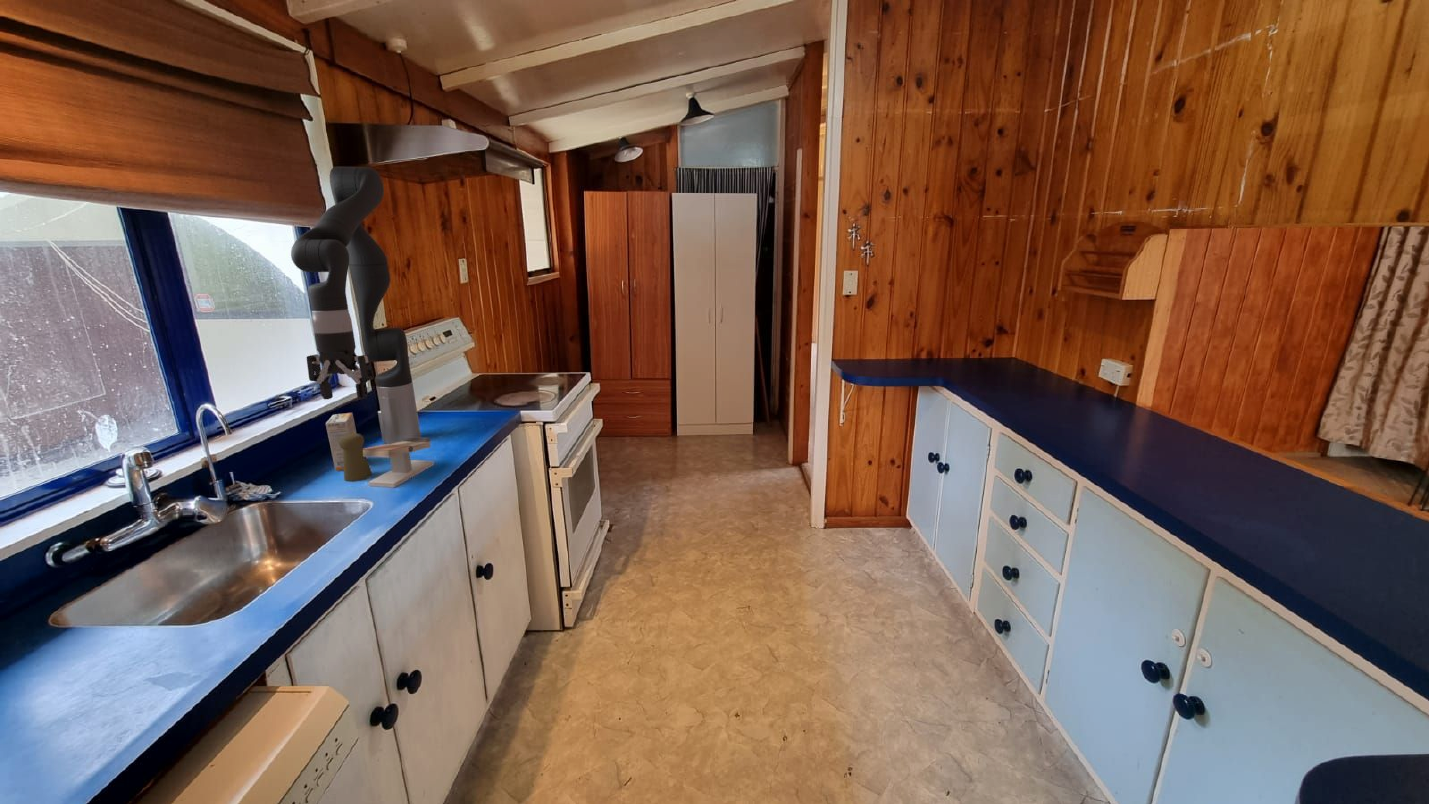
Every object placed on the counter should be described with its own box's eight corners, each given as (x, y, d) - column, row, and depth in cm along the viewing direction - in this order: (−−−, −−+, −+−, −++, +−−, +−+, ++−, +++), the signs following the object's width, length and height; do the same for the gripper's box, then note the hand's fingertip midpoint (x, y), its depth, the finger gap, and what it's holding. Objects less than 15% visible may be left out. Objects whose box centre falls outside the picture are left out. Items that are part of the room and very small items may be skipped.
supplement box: (341, 461, 152) (331, 414, 149) (361, 458, 154) (353, 412, 151) (334, 471, 145) (324, 422, 142) (356, 468, 147) (346, 420, 143)
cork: (359, 482, 138) (350, 439, 135) (338, 480, 139) (329, 438, 136) (378, 472, 144) (370, 431, 141) (357, 471, 145) (349, 430, 142)
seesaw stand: (368, 486, 136) (364, 462, 134) (410, 463, 150) (407, 442, 148) (394, 487, 135) (390, 464, 133) (434, 464, 149) (430, 443, 147)
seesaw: (363, 456, 134) (362, 445, 133) (407, 446, 148) (406, 436, 148) (388, 457, 133) (388, 447, 132) (430, 447, 147) (430, 437, 147)
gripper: (373, 328, 133) (384, 395, 137) (316, 328, 134) (328, 395, 138) (351, 331, 126) (363, 402, 130) (291, 332, 127) (304, 402, 131)
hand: (345, 398), depth 134 cm, fingers open, 8 cm apart
